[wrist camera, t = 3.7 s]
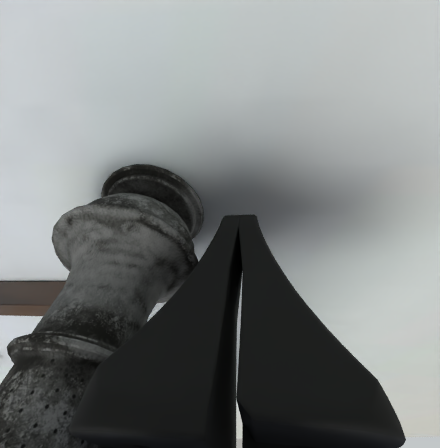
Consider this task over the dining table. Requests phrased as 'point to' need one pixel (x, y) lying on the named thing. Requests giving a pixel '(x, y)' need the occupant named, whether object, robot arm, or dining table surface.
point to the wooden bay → (28, 297)
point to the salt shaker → (98, 298)
